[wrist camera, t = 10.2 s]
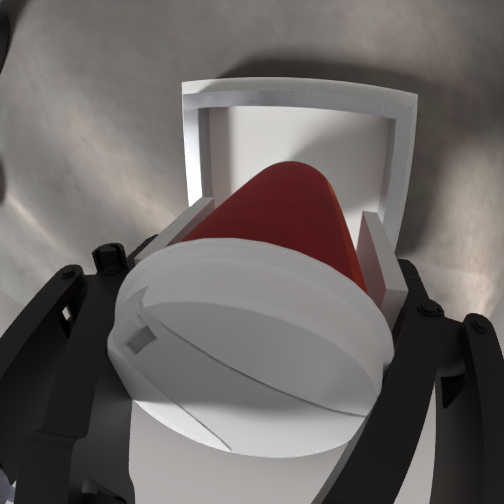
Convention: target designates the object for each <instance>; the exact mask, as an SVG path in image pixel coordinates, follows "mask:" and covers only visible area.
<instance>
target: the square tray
mask: <svg viewBox="0 0 504 504" xmlns="http://www.w3.org/2000/svg"><path fill="white" fill-rule="evenodd" d="M182 104H183V127H184V146H185V161H186V175H187V188H188V199H189V207H190V206H191V205H192V204H193V203H195V202H196V201H197V200H198V199H199V198H200V197H211V198H214V202H215V209H216V208H217V207H219V206H220V205H221V204H222V203H223V202H224V201H225V200H227V199H228V198H229V197H230V196H231V195H232V194H233V193H235V192H236V191H237V190H238V189H239V188H241V187H242V186H243V185H244V184H245V183H247V182H248V181H249V180H250V179H251V178H253V177H254V176H255V175H256V174H258V173H259V172H261V171H262V170H263V169H265V168H267V167H269V166H270V165H273V164H275V163H279V162H284V161H297V162H302V163H305V164H308V165H310V166H312V167H314V168H315V169H317V170H318V171H320V172H321V173H322V174H323V175H324V176H325V177H326V178H327V180H328V181H329V183H330V184H331V186H332V188H333V190H334V192H335V194H336V197H337V199H338V202H339V204H340V207H341V210H342V212H343V215H344V218H345V221H346V224H347V227H348V229H349V232H350V235H351V238H352V242H353V245H354V248H355V251H356V247H357V242H358V236H359V230H360V224H361V218H362V212H363V211H369V212H377V214H378V216H379V218H380V220H381V223H382V225H383V227H384V229H385V232H386V234H387V236H388V239H389V241H390V244H391V246H392V249H393V251H394V253H395V249H396V245H397V240H398V236H399V232H400V227H401V223H402V218H403V213H404V208H405V202H406V197H407V191H408V185H409V179H410V173H411V166H412V158H413V150H414V141H415V131H416V119H417V104H418V94H414V93H410V92H405V91H400V90H395V89H390V88H384V87H379V86H373V85H366V84H359V83H351V82H343V81H334V80H322V79H308V78H286V77H248V78H225V79H211V80H200V81H190V82H182Z"/></svg>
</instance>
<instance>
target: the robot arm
mask: <svg viewBox="0 0 504 504" xmlns="http://www.w3.org/2000/svg"><path fill="white" fill-rule="evenodd" d="M8 35H9V24H8V19H7V16H6V15H5V14H3V13H0V71H1V68H2V65H3V61H4V58H5V54H6V49H7V43H8ZM214 210H215V202H214V198H211V197H200V198H199V199H198V200H197V201H196V202H195V203H193V204H192V205H191V206H190V207H189V208H188V209H187V210H186V211H184V212H183V213H182V214H181V215H180V216H179V217H178V218H177V219H175V220H174V221H173V222H172V223H171V224H170V225H169V226H168V227H167V228H166V229H165V230H163V231H162V232H161V233H160V234H159V235H157V234H156V235H154V236H152V237H150V238H148V239H146V240H145V241H144V242H143V243H142V244H141V246H139V247H138V248H136V250H134V251H133V252H132V253H131V254H130V255H129V256H128V257H127V258H126V255H125V250H124V246H123V245H122V244H119V243H109V244H105V245H102V246H99V247H98V248H96V249H95V250H94V251H93V252H92V255H93V259H94V262H95V266H96V269H97V273H96V274H95V275H84V272H83V269H82V267H81V266H80V265H76V264H75V265H69V266H68V265H67V266H65V267H64V268H62V269H60V270H59V271H58V272H57V273H56V274H55V275H54V276H53V277H52V278H51V279H50V280H49V281H48V282H47V283H46V284H45V285H44V287H43V288H42V289H41V290H40V291H39V292H38V293H37V294H36V295H35V297H34V298H33V299H32V300H31V301H30V302H29V303H28V305H27V306H26V307H25V308H24V309H23V310H22V312H21V313H20V314H19V315H18V316H17V318H16V319H15V320H14V321H13V323H12V324H11V325H10V326H9V328H8V329H7V330H6V331H5V333H4V334H3V335H2V337H1V338H0V504H5V503H6V501H7V500H8V501H10V502H14V504H135V492H134V486H133V483H132V481H131V478H130V476H129V468H128V467H129V464H128V463H129V439H130V423H131V411H132V400H133V399H132V397H131V396H130V395H129V393H128V392H127V390H126V388H125V386H124V385H123V383H122V381H121V379H120V377H119V375H118V374H117V372H116V370H115V368H114V366H113V364H112V362H111V360H110V358H109V356H108V348H107V346H108V337H109V335H110V333H111V331H112V329H113V327H114V322H115V306H116V300H117V296H118V292H119V289H120V287H121V285H122V283H123V281H124V280H125V278H126V276H127V275H128V274H129V272H130V271H131V270H132V269H133V268H134V267H135V266H136V265H137V264H138V263H139V262H140V261H142V260H143V259H145V258H146V257H148V256H149V255H151V254H152V253H154V252H156V251H157V250H160V249H163V248H165V247H168V246H171V245H174V244H176V243H179V242H180V241H181V240H182V239H183V238H184V237H185V236H186V235H187V234H189V233H190V232H191V231H192V230H193V229H194V228H195V227H196V226H197V225H198V224H200V223H201V222H202V221H203V220H204V219H205V218H206V217H207V216H208V215H210V214H211V213H212V212H213V211H214ZM356 254H357V257H358V261H359V264H360V267H361V271H362V274H363V278H364V281H365V285H366V288H367V292H368V296H369V297H370V298H371V299H372V300H373V302H374V303H375V304H376V306H377V307H378V309H379V310H380V311H381V313H382V314H383V316H384V317H385V320H386V322H387V324H388V327H389V329H390V332H391V334H392V339H393V347H394V357H393V359H392V363H391V365H390V367H389V369H388V371H387V373H386V374H385V376H384V378H383V380H382V389H381V392H380V394H379V396H378V398H377V400H376V402H375V404H374V405H373V407H372V409H371V410H370V412H369V413H368V415H367V416H366V418H365V420H364V421H363V423H362V424H361V426H360V427H359V429H358V430H357V431H356V433H355V434H354V436H353V437H352V439H351V440H350V441H349V443H348V445H347V447H346V448H345V450H344V452H343V454H342V455H341V457H340V459H339V461H338V463H337V464H336V466H335V467H334V469H333V471H332V472H331V474H330V476H329V477H328V479H327V480H326V482H325V484H324V485H323V487H322V488H321V490H320V491H319V493H318V494H317V496H316V497H315V499H314V500H313V502H312V503H311V504H393V503H394V501H395V499H396V497H397V495H398V493H399V490H400V488H401V486H402V484H403V481H404V479H405V476H406V474H407V471H408V469H409V466H410V464H411V461H412V458H413V456H414V453H415V450H416V447H417V444H418V441H419V438H420V435H421V431H422V428H423V425H424V422H425V418H426V415H427V411H428V407H429V403H430V399H431V395H432V391H433V386H434V382H435V393H436V443H435V460H434V471H433V481H432V489H431V497H430V503H429V504H504V358H503V355H502V351H501V348H500V345H499V342H498V339H497V336H496V333H495V330H494V327H493V325H492V323H491V322H490V321H489V320H488V319H487V318H486V317H484V316H483V315H480V314H477V313H470V314H468V315H466V317H465V319H464V321H463V322H459V321H455V320H452V319H449V318H447V317H445V315H444V310H443V309H442V307H441V306H440V305H439V304H438V303H436V302H435V301H433V300H431V299H429V297H428V295H427V292H426V290H425V288H424V285H423V283H422V282H421V278H420V276H419V274H418V271H417V269H416V267H415V266H414V265H413V264H412V263H411V262H410V261H409V260H404V259H396V256H395V253H394V251H393V249H392V246H391V244H390V241H389V239H388V236H387V234H386V232H385V229H384V227H383V225H382V223H381V220H380V218H379V216H378V214H377V212H369V211H363V212H362V218H361V224H360V230H359V236H358V242H357V247H356ZM65 307H66V308H67V311H68V313H69V315H70V317H69V318H68V319H67V320H66V319H65V317H64V315H63V313H62V311H63V310H64V308H65ZM16 479H17V480H16ZM15 481H16V487H15V488H14V487H13V486H12V485H13V483H14V482H15Z"/></svg>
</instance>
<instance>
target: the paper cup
mask: <svg viewBox="0 0 504 504" xmlns="http://www.w3.org/2000/svg"><path fill="white" fill-rule="evenodd" d="M107 348H108V356H109V358H110V360H111V362H112V364H113V366H114V368H115V370H116V372H117V374H118V375H119V377H120V379H121V381H122V383H123V385H124V386H125V388H126V390H127V392H128V393H129V395H130V396H131V397H132V399H133V400H134V401H135V402H137V403H138V404H139V405H140V406H141V407H142V408H143V409H144V410H145V411H146V412H148V413H149V414H150V415H152V416H153V417H154V418H155V419H157V420H158V421H160V422H162V423H163V424H164V425H166V426H168V427H169V428H171V429H173V430H175V431H176V432H179V433H180V434H182V435H184V436H186V437H188V438H191V439H193V440H195V441H197V442H200V443H203V444H206V445H208V446H211V447H214V448H217V449H221V450H224V451H228V452H234V453H237V454H244V455H251V456H260V457H272V458H275V457H276V458H287V457H299V456H305V455H311V454H316V453H320V452H323V451H327V450H330V449H333V448H335V447H338V446H340V445H342V444H344V443H346V442H348V441H349V440H351V439H352V437H353V436H354V434H355V433H356V431H357V430H358V429H359V427H360V426H361V424H362V423H363V421H364V420H365V418H366V416H367V415H368V413H369V412H370V410H371V409H372V407H373V405H374V404H375V402H376V400H377V398H378V396H379V394H380V392H381V389H382V380H383V378H384V376H385V374H386V373H387V371H388V369H389V367H390V365H391V363H392V359H393V357H394V347H393V339H392V334H391V332H390V329H389V327H388V324H387V322H386V320H385V317H384V316H383V314H382V313H381V311H380V310H379V309H378V307H377V306H376V304H375V303H374V302H373V300H372V299H371V298H370V297H369V296H368V292H367V288H366V285H365V281H364V278H363V274H362V271H361V267H360V264H359V261H358V257H357V254H356V251H355V248H354V245H353V242H352V238H351V235H350V232H349V229H348V227H347V224H346V221H345V218H344V215H343V212H342V210H341V207H340V204H339V202H338V199H337V197H336V194H335V192H334V190H333V188H332V186H331V184H330V183H329V181H328V180H327V178H326V177H325V176H324V175H323V174H322V173H321V172H320V171H318V170H317V169H315V168H314V167H312V166H310V165H308V164H305V163H302V162H297V161H284V162H279V163H275V164H273V165H270V166H269V167H267V168H265V169H263V170H262V171H261V172H259V173H258V174H256V175H255V176H254V177H253V178H251V179H250V180H249V181H248V182H247V183H245V184H244V185H243V186H242V187H241V188H239V189H238V190H237V191H236V192H235V193H233V194H232V195H231V196H230V197H229V198H228V199H227V200H225V201H224V202H223V203H222V204H221V205H220V206H219V207H217V208H216V209H215V210H214V211H213V212H212V213H211V214H210V215H208V216H207V217H206V218H205V219H204V220H203V221H202V222H201V223H200V224H198V225H197V226H196V227H195V228H194V229H193V230H192V231H191V232H190V233H189V234H187V235H186V236H185V237H184V238H183V239H182V240H181V241H180V242H179V243H176V244H174V245H171V246H168V247H165V248H163V249H160V250H157V251H156V252H154V253H152V254H151V255H149V256H148V257H146V258H145V259H143V260H142V261H140V262H139V263H138V264H137V265H136V266H135V267H134V268H133V269H132V270H131V271H130V272H129V274H128V275H127V276H126V278H125V280H124V281H123V283H122V285H121V287H120V289H119V292H118V296H117V300H116V306H115V322H114V327H113V329H112V331H111V333H110V335H109V337H108V346H107Z"/></svg>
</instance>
